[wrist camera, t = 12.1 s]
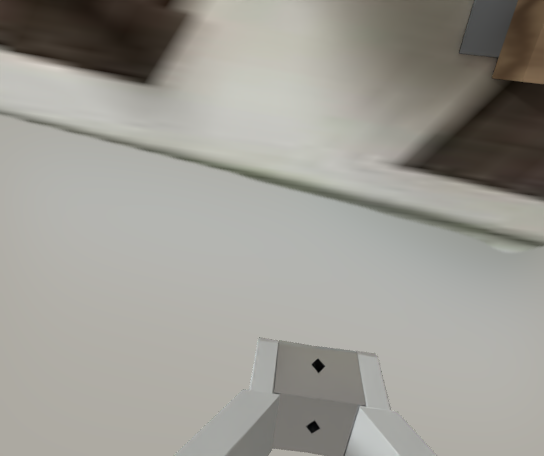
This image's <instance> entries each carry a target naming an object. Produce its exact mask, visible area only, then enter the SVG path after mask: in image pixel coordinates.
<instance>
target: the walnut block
mask: <svg viewBox="0 0 544 456" xmlns="http://www.w3.org/2000/svg"><path fill="white" fill-rule="evenodd" d="M492 78H493V79H502V80H511V81H520V82H529V83H538V84H544V0H518V2H517V5H516V8H515V11H514V14H513V17H512V20H511V23H510V26H509V29H508V32H507V35H506V38H505V40H504V43H503V46H502V49H501V52H500V55H499V58H498V61H497V64H496V67H495V70H494V73H493V76H492Z"/></svg>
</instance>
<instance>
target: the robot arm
mask: <svg viewBox="0 0 544 456" xmlns="http://www.w3.org/2000/svg"><path fill="white" fill-rule="evenodd" d="M272 448H274V449H282V450H291V451H300V452H308V453H313V454H318V455H324V456H437V455H436V453H435V452H434V451H433V450H432V449H431V448H430V447H429V446H428V445H427V443H425V441H424V440H423V439H422V438H421V437H420V436H419V435H418V434H417V432H416V431H415V430H414V429H413V428H412V427H411V426H410V425H409V424H408V422H407V421H406V420H405V419H404V418H403V417H402V416H401V415H400V414H399V413H398V412H397V411H392V410H391V408H390V404H389V400H388V396H387V392H386V388H385V384H384V380H383V375H382V371H381V368H380V363H379V359H378V356H377V355H376V354H375V353H367V352H359V351H350V350H342V349H334V348H327V347H319V346H311V345H305V344H299V343H293V342H287V341H281V340H279V342H278V340H272V339H266V338H260V337H259V339H258V342H257V348H256V354H255V359H254V365H253V370H252V376H251V382H250V388H249V390H246V389H243V390H242V391H241V392H240V393H239V394H238V395H236V396H235V397H234V399H232V400H231V401H230V402H229V403H228V404H227V405H226V406H225V407H224V408H223V409H222V410H221V411H220V412H219V413H218V414H217V415H215V416H214V417H213V418H212V419H211V420H210V421H209V422H208V423H207V424H206V425H205V426H204V427H203V428H202V429H201V430H200V431H199V432H198V433H197V434H196V435H195V436H194V437H192V438H191V439H190V440H189V441H188V442H187V443H186V444H185V445H184V446H183V447H182V448H181V449H180V450H179V451H178V452H177V453H176V454H175V455H174V456H268V455H269V453H270V452H271V450H272Z"/></svg>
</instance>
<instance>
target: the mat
mask: <svg viewBox="0 0 544 456" xmlns="http://www.w3.org/2000/svg"><path fill="white" fill-rule="evenodd" d="M517 2H518V0H474V4H473V7H472V10H471V14H470V17H469V21H468V24H467V27H466V31H465V34H464V38H463V41H462V44H461V48H460V51H459V53H461V54H470V55H480V56H489V57H498V58H499V55H500V52H501V49H502V46H503V43H504V40H505V38H506V35H507V32H508V29H509V26H510V23H511V20H512V17H513V14H514V11H515V8H516V5H517Z"/></svg>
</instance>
